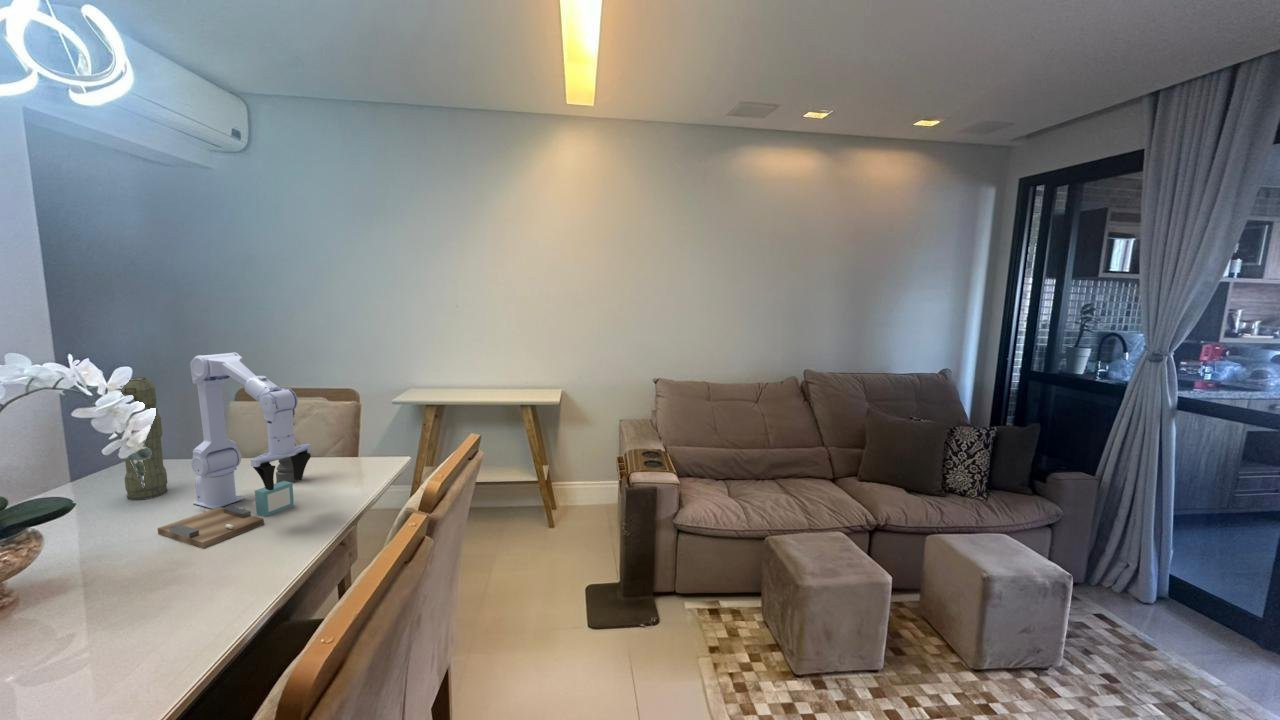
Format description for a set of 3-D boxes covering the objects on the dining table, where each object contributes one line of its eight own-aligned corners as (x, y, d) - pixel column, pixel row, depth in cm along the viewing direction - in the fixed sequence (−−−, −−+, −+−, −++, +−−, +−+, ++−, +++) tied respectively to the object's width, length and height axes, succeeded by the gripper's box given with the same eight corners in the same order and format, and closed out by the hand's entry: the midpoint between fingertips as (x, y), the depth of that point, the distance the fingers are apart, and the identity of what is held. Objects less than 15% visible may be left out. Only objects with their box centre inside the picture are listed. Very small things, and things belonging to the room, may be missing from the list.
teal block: (256, 514, 140) (254, 490, 139) (285, 503, 147) (284, 480, 146) (265, 517, 138) (263, 492, 138) (293, 505, 146) (292, 482, 145)
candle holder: (303, 480, 165) (298, 405, 162) (281, 485, 160) (276, 408, 156) (294, 476, 168) (289, 402, 165) (273, 481, 163) (267, 406, 160)
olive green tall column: (120, 504, 143) (106, 383, 139) (133, 490, 153) (121, 376, 149) (162, 498, 148) (150, 381, 143) (172, 484, 158) (161, 374, 153)
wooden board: (158, 533, 127) (157, 523, 127) (220, 511, 140) (219, 502, 140) (203, 548, 121) (202, 537, 121) (263, 524, 134) (263, 514, 134)
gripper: (262, 444, 126) (266, 496, 127) (317, 430, 139) (320, 477, 141) (243, 440, 128) (247, 492, 130) (300, 427, 142) (302, 473, 143)
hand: (284, 484), depth 136 cm, fingers open, 7 cm apart
